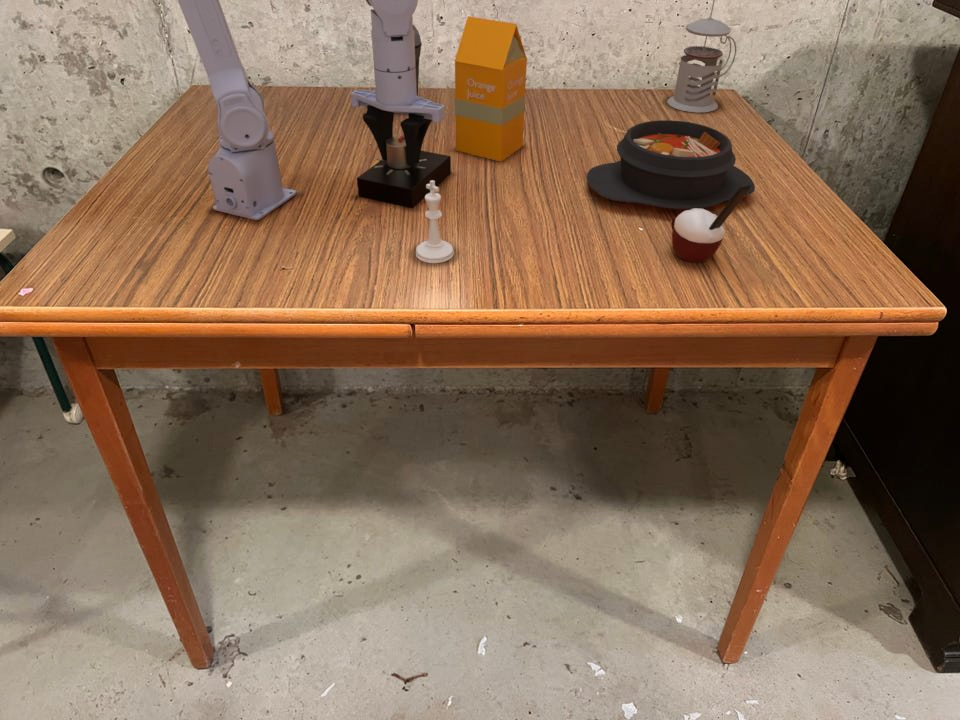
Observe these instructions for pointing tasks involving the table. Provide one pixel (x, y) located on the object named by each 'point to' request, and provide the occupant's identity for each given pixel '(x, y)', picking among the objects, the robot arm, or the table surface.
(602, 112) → the table surface
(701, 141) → the casserole
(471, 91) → the orange juice
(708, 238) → the rice bowl
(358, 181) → the hob panel
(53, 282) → the table surface
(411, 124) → the robot arm
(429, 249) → the chess piece
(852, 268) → the table surface
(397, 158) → the knob
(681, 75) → the french press
